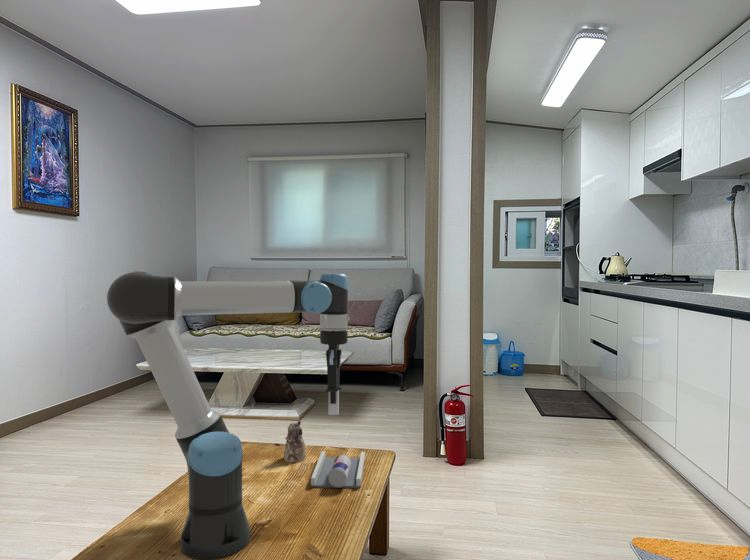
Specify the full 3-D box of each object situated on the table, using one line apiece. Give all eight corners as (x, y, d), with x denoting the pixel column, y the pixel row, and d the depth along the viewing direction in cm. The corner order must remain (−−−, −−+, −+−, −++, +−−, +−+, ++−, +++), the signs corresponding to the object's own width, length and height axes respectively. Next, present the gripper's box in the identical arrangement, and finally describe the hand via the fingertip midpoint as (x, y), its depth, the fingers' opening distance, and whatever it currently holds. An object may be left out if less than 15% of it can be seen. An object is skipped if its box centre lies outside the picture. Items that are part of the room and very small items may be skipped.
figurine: (279, 459, 167) (279, 422, 167) (295, 453, 173) (295, 418, 173) (293, 464, 163) (293, 427, 163) (310, 458, 168) (310, 422, 168)
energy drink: (324, 474, 144) (331, 458, 156) (333, 491, 144) (339, 474, 156) (341, 465, 144) (346, 450, 156) (350, 482, 143) (354, 466, 155)
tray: (360, 488, 145) (360, 479, 145) (310, 487, 146) (310, 478, 146) (364, 459, 167) (364, 451, 167) (321, 459, 168) (321, 451, 167)
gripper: (345, 332, 134) (344, 421, 134) (349, 326, 147) (349, 408, 147) (316, 331, 134) (316, 420, 135) (323, 326, 147) (323, 407, 148)
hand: (333, 414), depth 141 cm, fingers closed
